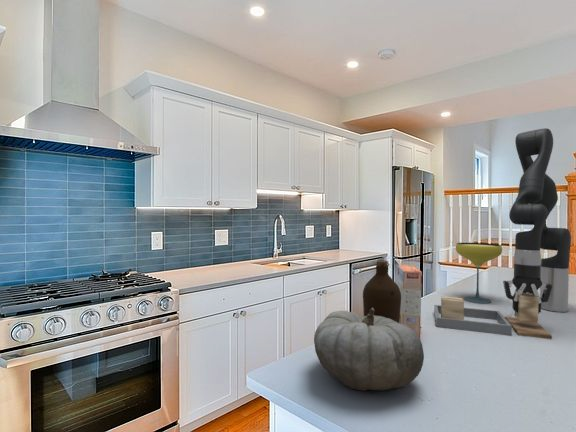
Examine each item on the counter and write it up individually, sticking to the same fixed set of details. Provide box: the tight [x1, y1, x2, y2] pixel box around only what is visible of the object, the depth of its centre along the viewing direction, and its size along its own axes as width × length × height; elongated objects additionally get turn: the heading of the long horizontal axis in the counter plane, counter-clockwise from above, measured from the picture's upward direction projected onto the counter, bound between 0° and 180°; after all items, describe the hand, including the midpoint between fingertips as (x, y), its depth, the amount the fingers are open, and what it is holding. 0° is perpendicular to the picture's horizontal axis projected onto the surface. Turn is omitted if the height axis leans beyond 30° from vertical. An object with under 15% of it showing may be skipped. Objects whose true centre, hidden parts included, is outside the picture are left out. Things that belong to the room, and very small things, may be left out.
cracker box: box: [397, 264, 423, 339], centre depth 114 cm, size 14×6×21 cm, turn 168°
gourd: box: [313, 308, 425, 392], centre depth 81 cm, size 25×25×17 cm
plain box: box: [440, 296, 465, 320], centre depth 124 cm, size 5×7×8 cm
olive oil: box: [362, 259, 401, 323], centre depth 99 cm, size 11×11×25 cm
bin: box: [433, 304, 513, 336], centre depth 123 cm, size 18×22×3 cm
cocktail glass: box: [455, 242, 503, 304], centre depth 154 cm, size 18×18×25 cm
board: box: [504, 315, 553, 340], centre depth 117 cm, size 18×9×1 cm, turn 159°
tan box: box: [514, 293, 539, 323], centre depth 117 cm, size 5×7×8 cm
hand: (526, 312), depth 117 cm, fingers closed on tan box, 5 cm apart
